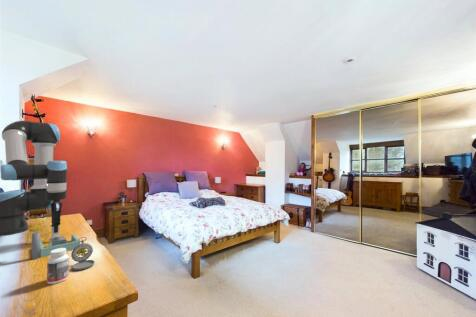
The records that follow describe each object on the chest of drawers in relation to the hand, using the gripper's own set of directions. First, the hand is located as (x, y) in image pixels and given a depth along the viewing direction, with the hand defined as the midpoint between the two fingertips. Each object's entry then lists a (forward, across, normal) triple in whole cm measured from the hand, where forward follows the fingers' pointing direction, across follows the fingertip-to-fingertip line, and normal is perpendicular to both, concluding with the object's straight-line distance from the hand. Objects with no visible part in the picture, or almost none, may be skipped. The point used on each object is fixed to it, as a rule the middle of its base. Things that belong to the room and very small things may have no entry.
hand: (55, 238), depth 103 cm
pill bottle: (+1, +47, -4) cm, 48 cm away
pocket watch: (+1, +42, +4) cm, 42 cm away
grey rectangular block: (+1, +11, 0) cm, 11 cm away
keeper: (+1, +13, -1) cm, 13 cm away
